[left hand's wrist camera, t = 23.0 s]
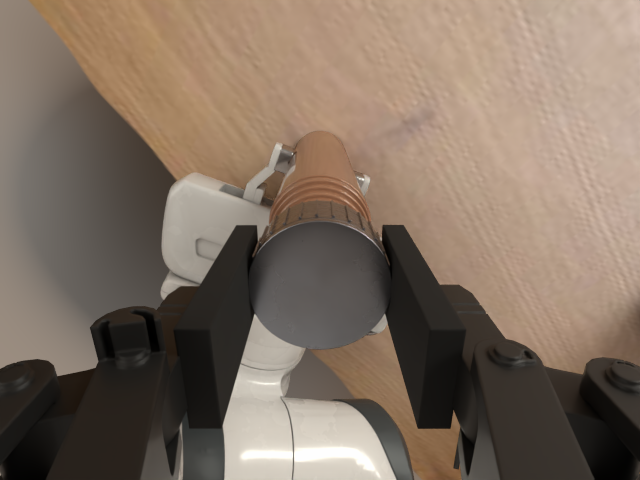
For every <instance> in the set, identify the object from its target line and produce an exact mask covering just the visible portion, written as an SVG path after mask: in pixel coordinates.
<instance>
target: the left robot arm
mask: <svg viewBox="0 0 640 480" xmlns="http://www.w3.org/2000/svg"><path fill="white" fill-rule="evenodd" d="M257 243H258V232H257V225H236V226H235V228H234V230H233V231H232V233H231V235H230V236H229V238H228V240H227V241H226V243H225V245H224V246H223V248H222V250H221V251H220V253H219V254H218V256H217V258H216V259H215V261H214V263H213V264H212V266H211V268H210V269H209V271H208V273H207V274H206V276H205V278H204V279H203V281H202V283H201V284H200V286H181V287H179V288H177V289H176V290H174V291H173V292H171V293H170V294H168V295H167V297H166V298H165V299H164V301H163V302H162V303H161V306H160V307H159V308H158V309H157V310H155V309H154V308H149V307H145V306H135V307H128V308H123V309H119V310H116V311H113V312H111V313H108V314H106V315H104V316H103V317H101V318H99V319H98V320H96V321H95V322H94V324H93V325H92V326H91V327H90V330H91V334H92V338H93V341H94V345H95V349H96V353H97V357H98V361H99V362H98V364H97V366H96V368H94V369H90V370H86V371H81V372H77V373H72V374H67V375H62V376H57V374H56V371H55V368H54V365H52V364H51V363H50V362H49V361H46V360H39V359H35V360H26V361H20V362H17V363H13V364H10V365H7V366H5V367H3V368H1V369H0V473H1V476H0V480H178V478H179V469H180V460H181V451H182V439H181V432H180V425H181V423H182V420H183V418H184V415H185V413H186V411H187V417H188V424H189V429H222V426H223V423H224V419H225V416H226V412H227V409H228V405H229V402H230V398H231V395H232V391H233V388H234V384H235V381H236V377H237V374H238V370H239V367H240V363H241V360H242V356H243V353H244V349H245V346H246V343H247V339H248V336H249V332H250V329H251V325H252V322H253V318H254V315H255V313H254V311H253V309H252V307H251V304H250V300H249V289H248V273H249V269H250V266H251V263H252V260H253V259H252V255H253V253H254V250H255V248H256V245H257ZM382 244H383V246H384V249H385V251H386V256H387V258H388V261H389V263H390V270H391V275H392V285H391V298H390V303H389V306H388V308H387V310H386V312H385V315H386V319H387V322H388V326H389V329H390V333H391V336H392V340H393V343H394V347H395V350H396V354H397V357H398V361H399V364H400V368H401V371H402V375H403V378H404V382H405V385H406V389H407V392H408V396H409V399H410V403H411V406H412V410H413V413H414V417H415V420H416V424H417V427H418V429H450V428H451V422H452V416H453V410H454V412H455V414H456V417H457V419H458V421H459V424H460V426H461V427H460V432H459V438H458V444H457V450H456V455H455V461H454V469H459V465H460V468H461V477H462V480H640V474H639V472H640V367H639V366H637V365H635V364H633V363H630V362H627V361H624V360H619V359H613V358H603V357H602V358H596V359H592V360H590V361H589V362H588V363H587V364H586V367H585V370H584V373H583V375H582V374H577V373H572V372H567V371H562V370H557V369H552V368H549V367H545V366H544V365H543V363H542V361H541V360H540V358H539V357H538V356H537V354H536V353H535V352H533V351H532V350H530V349H529V348H528V347H526V346H524V345H522V344H520V343H517V342H515V341H512V340H508V339H505V337H504V336H503V335H502V333H501V332H500V331H499V329H498V328H497V327H496V325H495V324H494V323H493V321H492V320H491V318H490V317H489V316H488V314H486V312H485V310H484V309H483V308H482V306H481V305H479V302H478V301H477V299H476V298H475V297H474V295H473V294H472V293H471V292H469V291H468V290H466V289H464V288H463V287H461V286H460V285H439V283H438V281H437V280H436V278H435V276H434V275H433V273H432V271H431V270H430V268H429V267H428V265H427V263H426V262H425V260H424V258H423V257H422V255H421V253H420V252H419V250H418V248H417V247H416V245H415V243H414V242H413V240H412V238H411V237H410V235H409V233H408V232H407V230H406V228H405V227H404V225H383V228H382Z"/></svg>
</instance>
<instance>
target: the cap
mask: <svg viewBox="0 0 640 480" xmlns="http://www.w3.org/2000/svg"><path fill="white" fill-rule="evenodd" d="M252 259H253V260H252V263H251V266H250V269H249V273H248V289H249V300H250V304H251V307H252V309H253V311H254V313H255V315H256V316H257V318H258V319H259V321H260V322H261V323H262V324H263V325H264V327H265V328H266V329H267V330H269V331H270V332H271V333H272V334H273V335H275V336H276V337H278V338H279V339H281V340H283V341H285V342H287V343H289V344H292V345H295V346H298V347H302V348H307V349H320V350H322V349H332V348H338V347H342V346H345V345H348V344H350V343H353V342H355V341H357V340H359V339H360V338H362V337H364V336H365V335H366V334H368V333H369V332H370V331H371V330H372V329H373V328H374V327H375V326H376V325H377V324H378V323H379V322H380V320H381V319H382V317H383V316H384V314H385V312H386V310H387V308H388V306H389V303H390V298H391V285H392V275H391V270H390V263H389V261H388V258H387V256H386V251H385V249H384V246H383V244H382V241H381V239H380V236H379V234H378V232H377V233H376V232H375V230H374V229H373V227H372V224H371V222H370V221H369V222H368V221H367V220H366V219H365V218H364V217H363V216H362V215H361V213H360V212H357V211H355V210H353V209H352V208H350V207H348V205H343V204H339V203H336V202H333V201H332V200H331V201H318V199H317V200H316V201H308V202H304V203H303V202H301V203H300V204H297V205H294V206H292V207H290V208H289V207H287V209H286V210H285V211H283V212H282V213H280V214H279V215H278V216H277V215H276V216H275V217H274V219H273V220H272V222H271V223H270V224H269V225H268V226H267V225H266V227H265V229H264V232H263V234H262V237H260V238H259V240H258V243H257V245H256V248H255V250H254V253H253V255H252Z"/></svg>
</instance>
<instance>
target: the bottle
mask: <svg viewBox="0 0 640 480" xmlns="http://www.w3.org/2000/svg"><path fill="white" fill-rule="evenodd" d="M317 199H318V201H331V200H332V201H333V202H336V203H339V204H343V205H348V207H350V208H352V209H353V210H355V211H357V212H360V213H361V215H362V216H363V217H364V218H365V219H366V220H367V221H368V222H369V221H370V222H371V216H370V212H369V208H368V205H367V203H366V200H365V198H364V196H363V193H362V191H361V188H360V186H359V183H358V181H357V178H356V176H355V173H354V171H353V168H352V166H351V163H350V161H349V158H348V156H347V153H346V151H345V149H344V146H343V144H342V143H341V141H340V140H339V139H338V138H337V137H336V136H334V135H333V134H331V133H329V132H325V131H315V132H311V133H309V134H307V135H305V136H304V137H303V138H302V139H301V140H300V141H299V142H298V144H297V146H296V148H295V150H294V153H293V156H292V158H291V160H290V163H289V165H288V168H287V170H286V172H285V175H284V177H283V180H282V182H281V185H280V187H279V190H278V192H277V195H276V197H275V200H274V202H273V205H272V207H271V211H270V215H269V224H270V223H271V222H272V220H273V219H274V217H275V216H276V215H277V216H278V215H279V214H280V213H282V212H283V211H285V210H286V209H287V207H289V208H290V207H292V206H294V205H297V204H300V203H301V202H303V203H304V202H308V201H316V200H317Z"/></svg>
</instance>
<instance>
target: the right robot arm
mask: <svg viewBox="0 0 640 480" xmlns="http://www.w3.org/2000/svg"><path fill="white" fill-rule="evenodd" d="M294 150H295V149H294V148H291V147H289V146H286V145H284V144H281V143H278V142H277V143H276V144H275V147H274V149H273V152H272V156H271V159H270V162H269V163H268V164H267V165H266V166H265V167H264V168H262V169H261V170H260V171H259V172H258V173H257V174H256V175H254V176H253V177H252V178H251V179H250V181H249V182H248V183H247V185H246V188H245V189H242V188H240V187H237V186H234V185H231V184H228V183H225V182H223V181H220V180H217V179H214V178H211V177H208V176H205V175H203V174H200V173H196V172H194V173H190V174H188V175H186V176H184V177H182V178H181V179H179V180H178V181H177V182H175V183H174V184H173V185H172V187H171V189H170V191H169V194H168V198H167V202H166V208H165V214H164V221H163V230H162V255H163V259H164V261H165V264H166V265H167V267H168V268H169V269H170V271H169V273H168V274H167V276H166V278H165V280H164V282H163V285H162V288H161V297H162V299H163V300H164V299H165V298H166V297H167V295H168V294H170V293H171V292H173V291H174V290H176V289H177V288H179V287H181V286H200V284H201V283H202V281H203V279H204V278H205V276H206V274H207V273H208V271H209V269H210V268H211V266H212V264H213V263H214V261H215V259H216V258H217V256H218V254H219V253H220V251H221V250H222V248H223V246H224V245H225V243H226V241H227V240H228V238H229V236H230V235H231V233H232V231H233V230H234V228H235V226H236V225H257V232H258V240H259V238H260V237H262V234H263V232H264V229H265V227H266V225H267V226H268V225H269V215H270V211H271V207H272V205H273V202H274V199H271V198H268V197H265V196H264V194H265V191H266V188H267V184H265V183H263V182H264V181H265V180H266V179H267V178H268V177H269V176H271V175H272V174H273V173H274V172H275V171H279V172H282V173H285V172H286V170H287V168H288V165H289V163H290V160H291V158H292V156H293V153H294ZM354 173H355V176H356V178H357V181H358V183H359V186H360V188H361V191H362V193H363V196H365V193H366V191H367V189H368V186H369V184H370V177H369V176H367V175H364V174H362V173H359V172H356V171H354ZM380 239H381V241H382V237H380ZM387 323H388V322H387V319H386V315H385V314H384V316H383V317H382V319H381V320H380V322H379V323H378V324H377V325H376V326H375V327H374V328H373V329H372V330H371V331H370V332H369V333H368V334H366V335H374V334H377V333H381V332H382V331H383V330H384V329H385V327H386V325H387ZM362 338H363V337H362ZM305 349H306V348H302V347H298V346H295V345H292V344H289V343H287V342H285V341H283V340H281V339H279V338H278V337H276V336H275V335H273V334H272V333H271V332H270V331H269V330H267V329H266V328H265V327H264V325H263V324H262V323H261V322H260V321H259V319H258V318H257V316H256V315H254V318H253V322H252V325H251V329H250V332H249V336H248V339H247V343H246V346H245V349H244V353H243V356H242V360H241V363H240V367H239V370H238V374H237V377H236V381H235V384H234V388H233V391H232V395H231V398H230V402H229V405H228V409H227V412H226V416H225V419H224V423H223V426H222V429H189V424H188V417H187V411H186V413H185V415H184V418H183V420H182V423H181V425H180V432H181V439H182V451H181V460H180V469H179V478H178V480H414V476H413V470H412V466H411V460H410V456H409V452H408V448H407V445H406V442H405V440H404V437H403V435H402V433H401V431H400V429H399V428H398V426H397V425H396V423H395V422H394V421H393V419H392V418H391V417H390V415H389V414H388V413H387V412H386V411H385V410H384V409H383V408H382V407H381V406H380V405H379V404H378V403H376V402H374V401H372V400H370V399H334V400H330V401H329V400H315V399H301V398H288V397H285V396H286V394H287V391H288V388H289V383H290V374H291V371H292V370H293V369H294V368H295V367H296V366H297V365H298V363H299V362H300V360H301V358H302V356H303V354H304V351H305Z"/></svg>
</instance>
